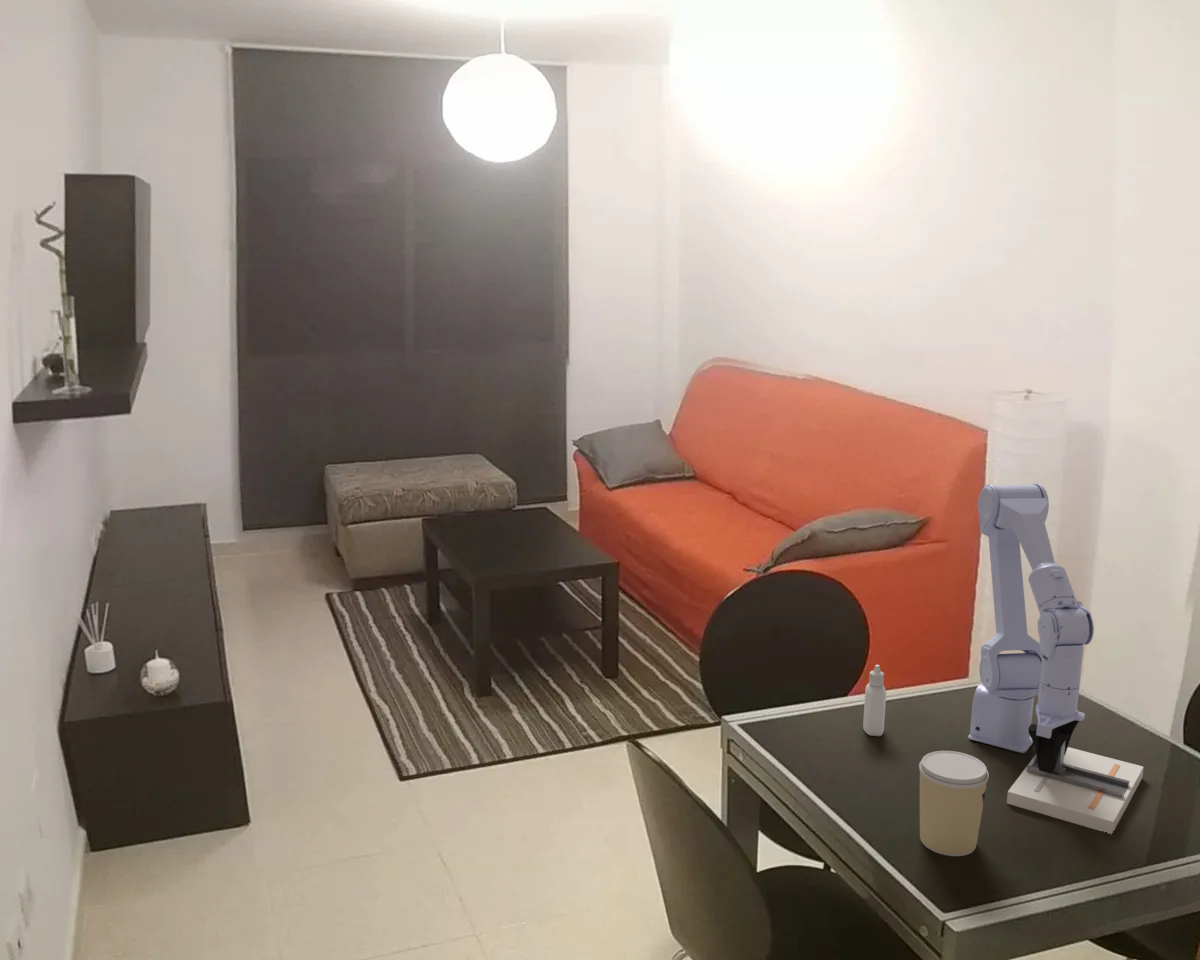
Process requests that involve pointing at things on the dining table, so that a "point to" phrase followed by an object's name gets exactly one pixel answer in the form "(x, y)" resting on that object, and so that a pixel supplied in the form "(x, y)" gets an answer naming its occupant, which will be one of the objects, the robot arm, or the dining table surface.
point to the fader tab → (1060, 761)
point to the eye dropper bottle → (875, 703)
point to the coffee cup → (951, 801)
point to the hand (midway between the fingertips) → (1051, 763)
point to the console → (1079, 790)
